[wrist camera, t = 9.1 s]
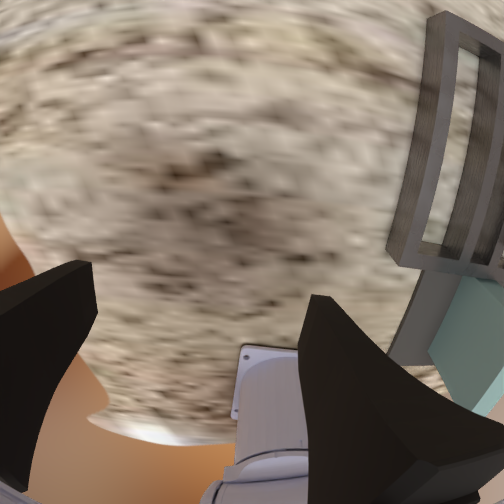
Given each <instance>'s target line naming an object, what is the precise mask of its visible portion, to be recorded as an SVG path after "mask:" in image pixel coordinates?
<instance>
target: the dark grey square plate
mask: <svg viewBox="0 0 504 504" xmlns="http://www.w3.org/2000/svg"><path fill="white" fill-rule="evenodd" d="M461 279H462V275H455V274H448V273H442V272H435V271H428V270H422V272H421V275H420V277H419V280H418V283H417V285H416V288H415V290H414V293H413V296H412V298H411V300H410V303H409V305H408V308H407V310H406V313H405V315H404V317H403V320H402V322H401V324H400V326H399V329H398V331H397V333H396V335H395V337H394V340H393V342H392V344H391V346H390V348H389V350H388V352H387V354H386V355H388V356H389V357H390V358H391V359H392V360H393V361H394V362H396V363H397V364H398V365H399V366H426V365H435V364H434V362H433V360H432V359H431V357H430V355H429V353H428V349H429V347H430V345H431V344H432V342H433V340H434V338H435V336H436V334H437V332H438V330H439V328H440V326H441V324H442V322H443V320H444V317H445V315H446V313H447V311H448V309H449V307H450V304H451V302H452V300H453V298H454V295H455V293H456V291H457V288H458V286H459V284H460V281H461ZM497 282H498V283H499V284H500V285H501V286H502V287H503V288H504V282H503V281H497Z"/></svg>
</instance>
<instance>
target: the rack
mask: <svg viewBox="0 0 504 504" xmlns="http://www.w3.org/2000/svg"><path fill="white" fill-rule="evenodd" d="M459 46H460V47H462V48H464V49H466V50H468V51H469V52H471V53H473V54H475V55H477V56H479V57H480V62H479V75H478V86H477V95H476V103H475V110H474V117H473V124H472V130H471V135H470V141H469V146H468V151H467V156H466V161H465V165H464V170H463V174H462V178H461V182H460V186H459V190H458V194H457V198H456V202H455V205H454V209H453V212H452V216H451V219H450V222H449V226H448V229H447V232H446V235H445V238H444V241H443V244H442V245H438V244H433V243H428V242H422V241H421V240H422V237H423V234H424V230H425V227H426V224H427V220H428V217H429V213H430V210H431V206H432V202H433V199H434V195H435V191H436V187H437V183H438V179H439V175H440V170H441V166H442V161H443V157H444V152H445V147H446V142H447V136H448V131H449V125H450V119H451V113H452V106H453V99H454V91H455V83H456V73H457V62H458V48H459ZM385 250H386V251H387V252H388V253H389V255H390V256H391V257H392V259H393V260H394V261H395V262H396V264H397V265H398V266H400V267H407V268H414V269H421V270H428V271H435V272H442V273H448V274H455V275H462V276H469V277H476V278H482V279H489V280H496V281H503V282H504V258H502V257H501V256H502V253H503V250H504V42H502V41H500V40H499V39H497V38H496V37H494V36H492V35H491V34H489V33H487V32H486V31H484V30H482V29H481V28H479V27H477V26H475V25H474V24H472V23H470V22H468V21H466V20H464V19H462V18H460V17H459V16H457V15H455V14H453V13H451V12H449V11H446V10H445V11H443V12H441V13H439V14H436V15H434V16H432V17H430V18H428V19H427V31H426V44H425V56H424V65H423V74H422V82H421V90H420V97H419V104H418V110H417V116H416V122H415V128H414V134H413V139H412V144H411V149H410V154H409V159H408V164H407V168H406V173H405V177H404V181H403V186H402V190H401V194H400V198H399V202H398V206H397V210H396V213H395V217H394V221H393V224H392V228H391V231H390V235H389V238H388V242H387V245H386V249H385Z"/></svg>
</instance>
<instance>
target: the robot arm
mask: <svg viewBox="0 0 504 504" xmlns="http://www.w3.org/2000/svg"><path fill="white" fill-rule="evenodd" d="M97 314H98V309H97V303H96V296H95V289H94V281H93V272H92V263H91V262H87V261H81V260H74V261H70V262H67V263H65V264H62V265H60V266H57V267H55V268H52V269H50V270H48V271H46V272H43V273H41V274H39V275H37V276H34V277H32V278H30V279H28V280H26V281H23V282H21V283H18V284H16V285H14V286H11V287H9V288H7V289H4V290H2V291H0V504H41V503H39V502H37V501H35V500H33V499H31V498H29V497H27V496H25V495H24V494H22V493H23V492H25V491H27V490H28V483H29V476H30V470H31V464H32V459H33V454H34V450H35V447H36V443H37V439H38V435H39V432H40V429H41V426H42V423H43V420H44V417H45V414H46V411H47V409H48V406H49V404H50V401H51V399H52V396H53V394H54V392H55V390H56V388H57V386H58V384H59V382H60V380H61V378H62V377H63V375H64V373H65V372H66V370H67V369H68V367H69V365H70V364H71V362H72V360H73V359H74V357H75V356H76V354H77V352H78V351H79V349H80V347H81V346H82V344H83V343H84V341H85V339H86V338H87V336H88V334H89V332H90V330H91V327H92V325H93V323H94V321H95V318H96V316H97ZM245 355H248V357H246V356H245ZM231 418H233V419H236V420H238V423H237V434H236V447H235V458H234V466H226V467H224V477H223V480H217V481H214V482H213V483H212V484H211V485H210V486H209V487H208V489H207V490H206V491H205V493H204V494H203V496H202V498H201V501H200V504H477V503H478V502H480V496H479V493H478V490H479V489H480V488H481V487H483V486H484V485H485V484H486V483H488V481H490V480H491V479H492V478H494V476H496V475H497V474H498V473H499V472H500V471H502V470H503V469H504V425H503V424H501V423H499V422H496V421H494V420H491V419H489V418H486V417H484V416H481V415H479V414H477V413H474V412H472V411H470V410H468V409H466V408H464V407H462V406H460V405H458V404H456V403H454V402H452V401H450V400H449V399H447V398H445V397H444V396H442V395H440V394H438V393H437V392H435V391H434V390H432V389H431V388H429V387H428V386H426V385H425V384H423V383H422V382H420V381H419V380H417V379H416V378H415V377H413V376H412V375H411V374H409V373H408V372H407V371H406V370H404V369H403V368H402V367H401V366H399V365H398V364H397V363H396V362H394V361H393V360H392V359H391V358H390V357H389V356H388V355H386V354H385V353H384V352H383V351H382V350H381V349H380V348H379V347H378V346H377V345H376V344H375V343H374V342H373V341H372V340H371V339H370V338H369V337H368V336H367V335H366V334H365V333H364V332H363V331H362V330H361V329H360V328H359V327H358V326H357V325H356V323H355V322H354V321H353V320H352V319H351V318H350V317H349V316H348V315H347V314H346V312H345V311H344V310H343V309H342V308H341V307H340V306H339V305H338V304H337V303H336V302H335V301H334V300H333V299H332V298H331V297H330V296H323V295H314V294H311V298H310V302H309V306H308V309H307V313H306V317H305V320H304V324H303V327H302V331H301V334H300V338H299V341H298V350H289V349H278V348H269V347H260V346H252V345H245V346H243V347H242V348H241V352H240V358H239V365H238V371H237V378H236V384H235V391H234V397H233V403H232V410H231ZM495 504H504V499H503V500H501V501H499V502H497V503H495Z"/></svg>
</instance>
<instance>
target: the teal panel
mask: <svg viewBox="0 0 504 504" xmlns="http://www.w3.org/2000/svg"><path fill="white" fill-rule="evenodd" d="M428 353H429V355H430V357H431V359H432V360H433V362H434V364H435V366H436V368H437V370H438V372H439V374H440V376H441V377H442V379H443V381H444V383H445V385H446V387H447V389H448V391H449V393H450V395H451V397H452V399H453V401H454V403H456V404H458V405H460V406H462V407H464V408H466V409H468V410H470V411H472V412H474V413H477V414H479V415H481V416H484V417H486V416H487V414H488V413H489V412H490V411H491V410H492V408H493V407H494V406H495V404H496V403H497V402H498V401H499V399H500V398H501V397H502V395H503V394H504V288H503V287H502V286H501V285H500V284H499V283H498V282H497V281H496V280H489V279H482V278H476V277H469V276H462V279H461V281H460V284H459V286H458V288H457V291H456V293H455V295H454V298H453V300H452V302H451V304H450V307H449V309H448V311H447V313H446V315H445V317H444V320H443V322H442V324H441V326H440V328H439V330H438V332H437V334H436V336H435V338H434V340H433V342H432V344H431V345H430V347H429V349H428Z"/></svg>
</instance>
